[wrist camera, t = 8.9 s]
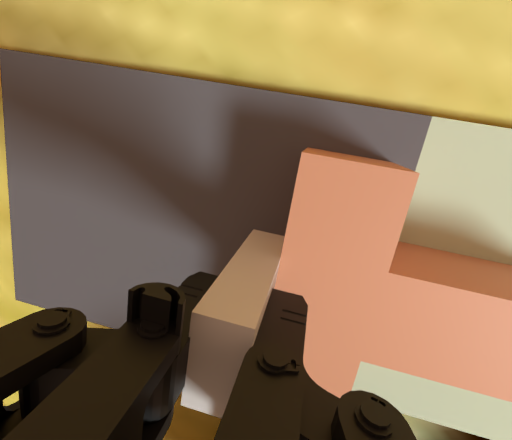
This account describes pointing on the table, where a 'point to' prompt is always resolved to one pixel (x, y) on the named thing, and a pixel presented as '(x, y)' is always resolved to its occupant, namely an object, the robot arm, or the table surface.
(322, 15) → the table surface
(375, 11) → the table surface
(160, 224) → the mat
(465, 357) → the t block
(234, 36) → the table surface
